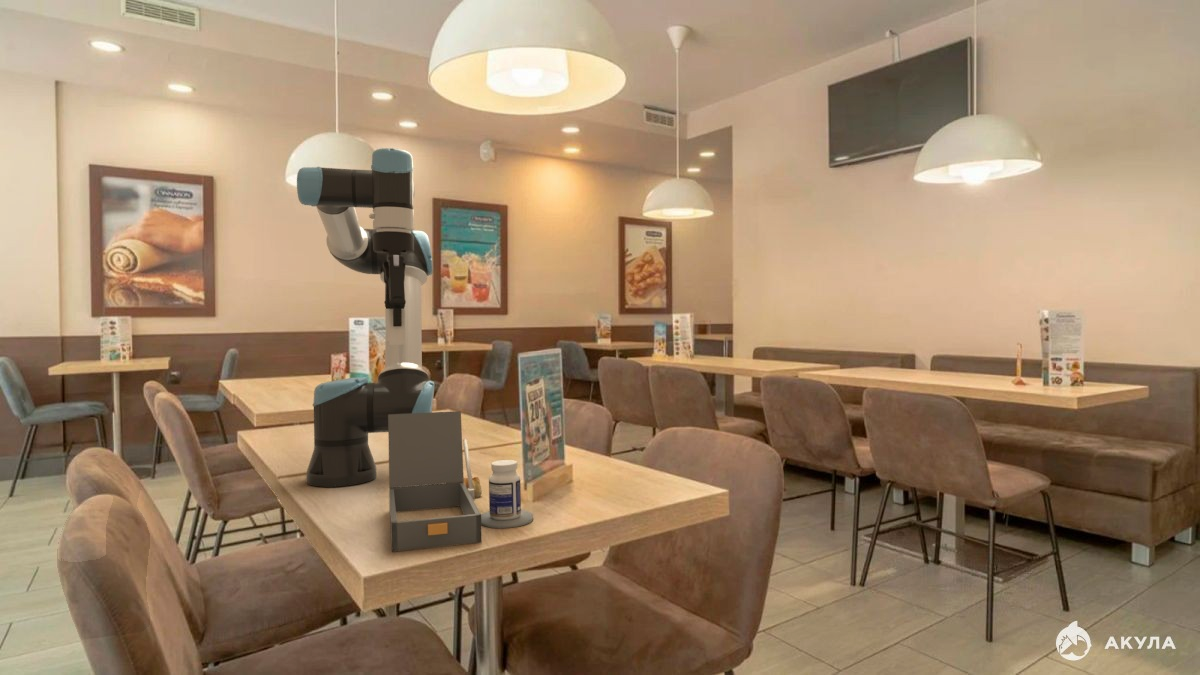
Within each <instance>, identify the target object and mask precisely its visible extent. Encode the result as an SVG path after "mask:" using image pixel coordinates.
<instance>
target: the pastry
mask: <svg viewBox="0 0 1200 675" xmlns="http://www.w3.org/2000/svg"><path fill="white" fill-rule="evenodd" d="M472 482H473V489H474V499H475V498H479V497H480V498H481V496H482V492H483V490H482V485H481V481H480V477H479V476H475V477H472ZM455 483H456V482H455ZM464 484H465V486H466V488H467V489H468V488H469V485H468V477H464Z"/></svg>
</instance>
